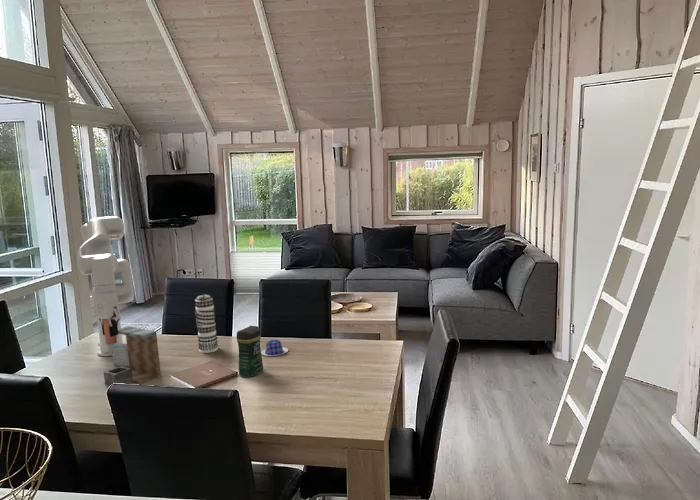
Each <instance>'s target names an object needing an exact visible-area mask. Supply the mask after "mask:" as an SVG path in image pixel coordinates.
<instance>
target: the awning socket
mask: <svg viewBox="0 0 700 500" xmlns="http://www.w3.org/2000/svg"><path fill="white" fill-rule="evenodd" d="M118 334H122V336H125V337H126V339H125V340H126V344H127V349H128V358H129V367H127V366H116V367H114V368H110V369H108V370H106V371H103V377H104V383H105V386H106V385H107V386H109V387H111V386H110V385H111V384H113V383H126V384H128V383H129V384H130V383H136V384H138V385H141V384H143V383H146V382H148V381H150V380H153V379H155V378H158V377H160V376H161V372H162V371H161V365H160V354H159V353H160V352H159V345H158V336H157V335H158V334H157V331H155V330H150V329H145V328H140V327H134V326H125V327H121V329H118Z"/></svg>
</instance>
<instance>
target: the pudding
mask: <svg viewBox="0 0 700 500" xmlns="http://www.w3.org/2000/svg"><path fill="white" fill-rule="evenodd" d="M288 351H289V349H288V348H287V347H284V346H283V345H282V342H281V340H279V339H271V340H268V341H267V342H266V346H265V348H264V349H261V355H262V356H267V357H276V356H281V355H284V354H286V353H288Z"/></svg>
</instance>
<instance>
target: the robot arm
mask: <svg viewBox="0 0 700 500" xmlns="http://www.w3.org/2000/svg"><path fill="white" fill-rule="evenodd" d="M80 234H81V237H82V239H83V241H84V243H83V244H81V245H80V246H79V248H78V250H77V254H76V259H77V260H76V261H77V270H78V271H79V273H80V274H82V275H84V276H87V275H88V276H90V275H92V280H93V289H92V290H91V298H92V301H93V305H94V306H93V307H94V308H93V309H94V315H95V317H96V322H97V329H98V330H97V331H98V338H99V343H97V346H98V347H99V348H100V349H99V350H97V351H96V352H97V355H98V356H100V357H110V356H111V357H113V354H112V346H114V345H116V344H118V343H121V344H124V343H123V335H122V334H118V329H121V328H122V325H121V316H120V314H121V313H120V304H121V305H122V304H127V303H130V302H133V300H134V299H135V291H134V284H133V275H132V270H131V264H130V262H129V261H128V260H127V259H125V258H117V256H116V255H115V254H114V253H112V251H111V248H110V246H111V243H112V241H114V240H121V239H122V238H123V237H124V235H125V224H124V221H123V219H122V218H121V217H119V216H117V215H114V216H113V215H111V216H98V217H94V218H91V219H89V220H88V222H87V223H84V224H82V225H81V227H80ZM116 281H121V282H116ZM112 316H114V317H113V318H112ZM103 319H108V320H109V324H110V326H109V332H110V336H111V337H112V336H116V337H117V343H114V344H106V341H105V332H104V324H103ZM112 319H114V320H113V321H112Z"/></svg>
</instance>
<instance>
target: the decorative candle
mask: <svg viewBox="0 0 700 500" xmlns="http://www.w3.org/2000/svg"><path fill="white" fill-rule="evenodd" d="M194 301H195V302H194V303H195V311H194V317H195V322H196V323H195V325H196V327H197V341H198V344H197V345H198V349H199V350H198V352H199V353H202V354H203V353H204V354H206V353H207V354H208V353H213V352H217V351H218V350H219V347H218V346H219V344H218V340H217V339H218V337H217V336H218V333H217V329H216V324H217V321H215V320H216V319H217V317H216V315H217V314H216V313H215V312H216V311H217V310H216V309H215V308H216V306H215V305H214V298H213V297H212V296H211V295H210V294H202V295H197V296H196V298H195V299H194Z"/></svg>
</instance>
